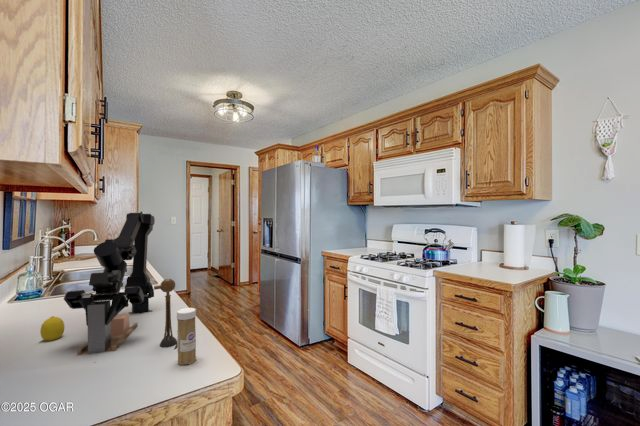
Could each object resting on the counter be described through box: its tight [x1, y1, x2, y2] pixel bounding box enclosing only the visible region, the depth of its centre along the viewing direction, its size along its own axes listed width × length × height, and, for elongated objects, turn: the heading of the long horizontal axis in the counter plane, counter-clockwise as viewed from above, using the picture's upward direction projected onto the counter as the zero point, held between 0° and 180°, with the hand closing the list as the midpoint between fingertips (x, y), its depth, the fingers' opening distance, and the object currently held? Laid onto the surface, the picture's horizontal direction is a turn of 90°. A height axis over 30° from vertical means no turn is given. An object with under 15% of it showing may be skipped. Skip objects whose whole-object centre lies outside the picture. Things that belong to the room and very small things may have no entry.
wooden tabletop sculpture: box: [153, 278, 178, 350], centre depth 87 cm, size 6×5×20 cm
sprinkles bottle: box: [176, 307, 197, 366], centre depth 79 cm, size 5×5×14 cm
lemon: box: [40, 315, 65, 342], centre depth 93 cm, size 6×6×8 cm
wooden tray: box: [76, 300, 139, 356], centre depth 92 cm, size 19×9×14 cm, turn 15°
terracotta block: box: [111, 313, 130, 336], centre depth 97 cm, size 5×5×5 cm
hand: (97, 324), depth 83 cm, fingers closed on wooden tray, 4 cm apart
